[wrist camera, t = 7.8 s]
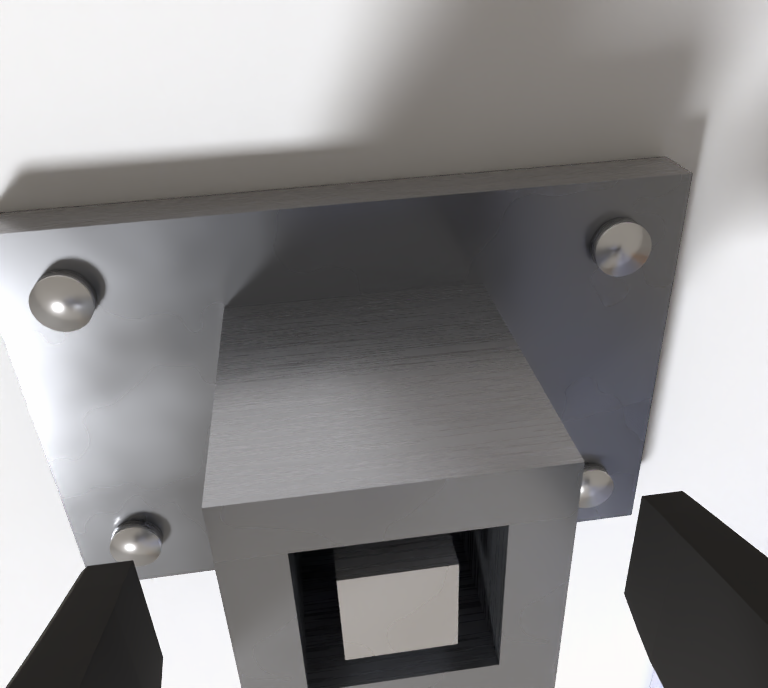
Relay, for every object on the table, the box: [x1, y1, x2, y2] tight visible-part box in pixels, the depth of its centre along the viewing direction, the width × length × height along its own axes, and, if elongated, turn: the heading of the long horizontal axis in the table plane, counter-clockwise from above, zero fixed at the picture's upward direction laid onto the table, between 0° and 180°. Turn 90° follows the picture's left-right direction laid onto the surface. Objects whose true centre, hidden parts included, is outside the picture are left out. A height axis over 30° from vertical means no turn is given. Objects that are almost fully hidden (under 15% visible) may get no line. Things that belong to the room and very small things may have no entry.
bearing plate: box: [0, 157, 692, 660], centre depth 12 cm, size 12×8×6 cm, turn 92°
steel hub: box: [202, 283, 585, 688], centre depth 12 cm, size 5×5×5 cm
